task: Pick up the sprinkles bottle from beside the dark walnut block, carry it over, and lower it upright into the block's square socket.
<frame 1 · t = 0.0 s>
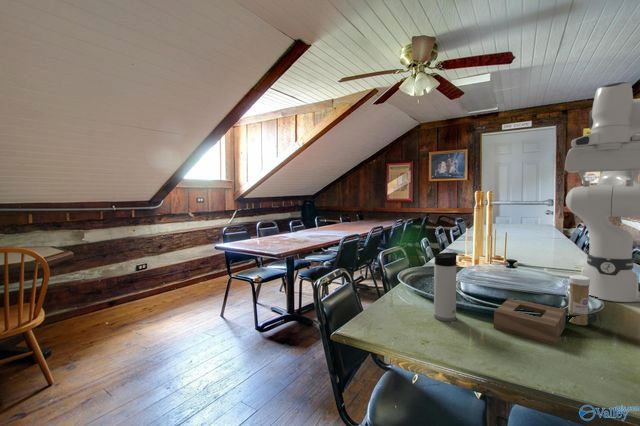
hand: (607, 186, 93), 39 cm above the table, tool pointing down, fingers open, 8 cm apart
walnut socket block: (529, 327, 89), on the table
sprinkles bottle: (577, 323, 92), on the table
travel mug: (445, 318, 98), on the table
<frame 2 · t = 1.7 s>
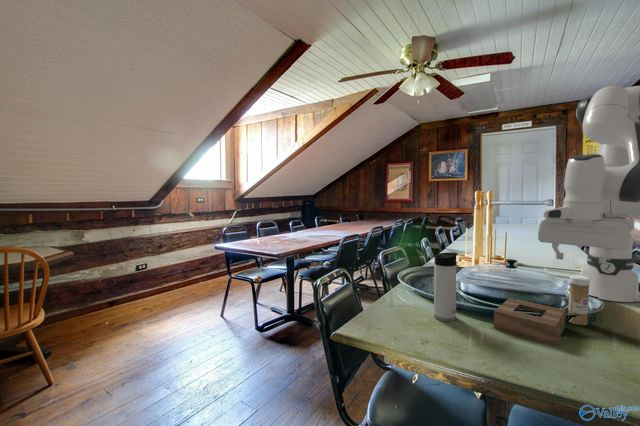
hand: (580, 261, 90), 18 cm above the table, tool pointing down, fingers open, 8 cm apart
nothing on the table moved.
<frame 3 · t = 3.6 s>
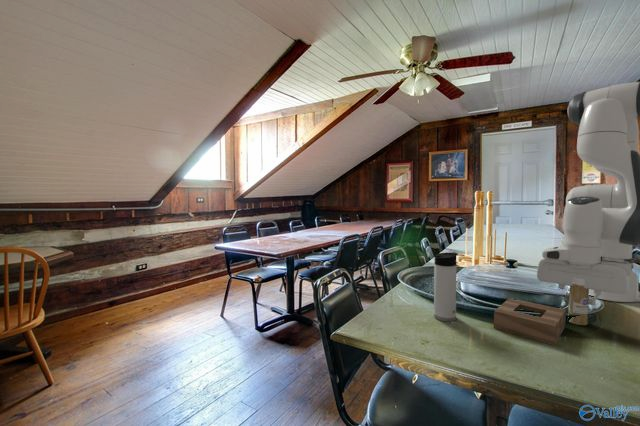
hand: (578, 301, 91), 6 cm above the table, tool pointing down, fingers closed on sprinkles bottle, 4 cm apart
sprinkles bottle: (577, 323, 92), on the table, touching gripper
everything else where it was.
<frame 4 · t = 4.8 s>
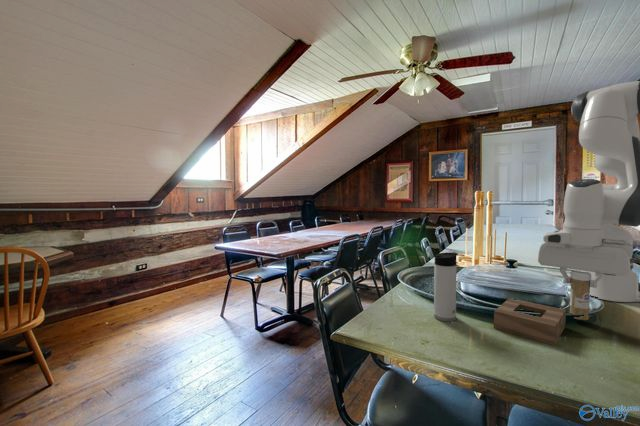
hand: (580, 284, 91), 11 cm above the table, tool pointing down, fingers closed on sprinkles bottle, 4 cm apart
sprinkles bottle: (578, 317, 92), point 1 cm above the table, touching gripper
everything else where it was.
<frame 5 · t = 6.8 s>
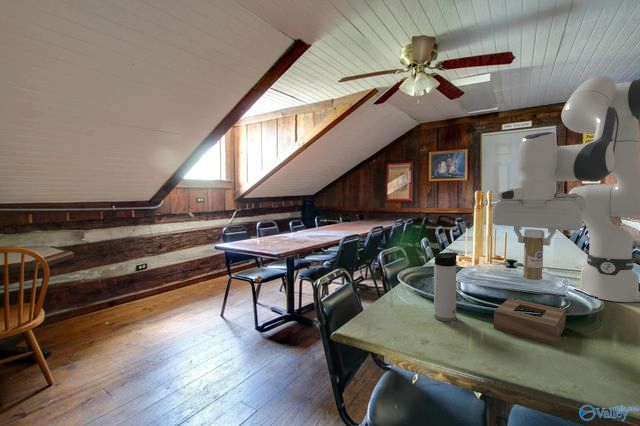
hand: (533, 243, 87), 24 cm above the table, tool pointing down, fingers closed on sprinkles bottle, 4 cm apart
sprinkles bottle: (532, 279, 88), point 14 cm above the table, touching gripper
everything else where it was.
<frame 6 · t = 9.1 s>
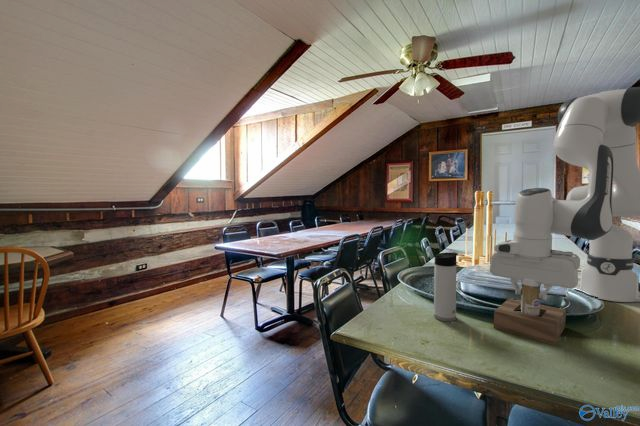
hand: (530, 296, 89), 9 cm above the table, tool pointing down, fingers closed on sprinkles bottle, 4 cm apart
sprinkles bottle: (529, 325, 89), point 1 cm above the table, touching gripper, walnut socket block
everything else where it was.
when the fingers open (9 cm above the table, at t = 9.4 s): sprinkles bottle stays where it is, resting on walnut socket block.
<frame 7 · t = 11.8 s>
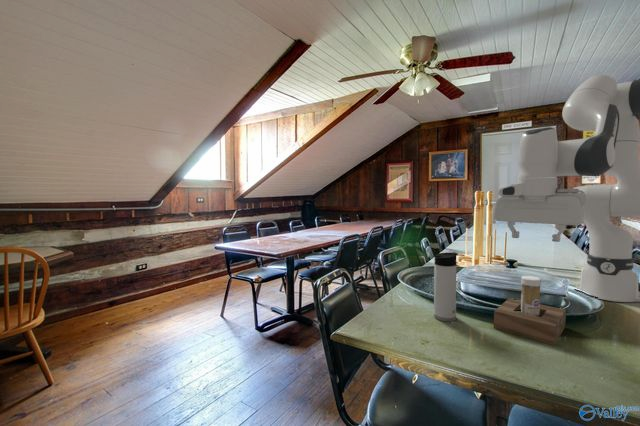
hand: (535, 239, 87), 25 cm above the table, tool pointing down, fingers open, 8 cm apart
sprinkles bottle: (529, 325, 89), point 1 cm above the table, touching walnut socket block
everything else where it was.
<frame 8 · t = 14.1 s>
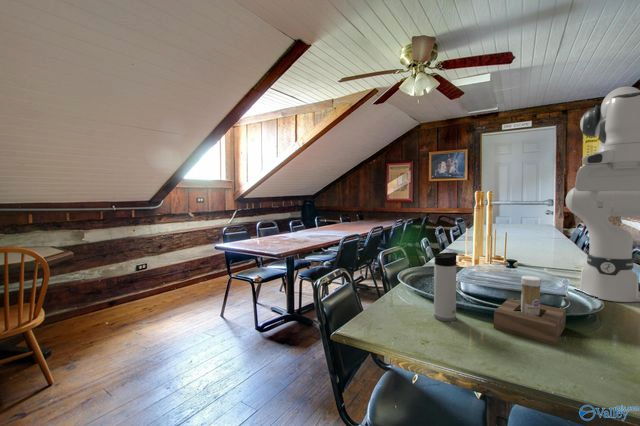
hand: (622, 208, 85), 33 cm above the table, tool pointing down, fingers open, 8 cm apart
nothing on the table moved.
at the end: sprinkles bottle 0.1 cm off-centre on the walnut socket block, point 0.8 cm above the walnut socket block's base; sprinkles bottle tilted 0°; the gripper is holding nothing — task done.
